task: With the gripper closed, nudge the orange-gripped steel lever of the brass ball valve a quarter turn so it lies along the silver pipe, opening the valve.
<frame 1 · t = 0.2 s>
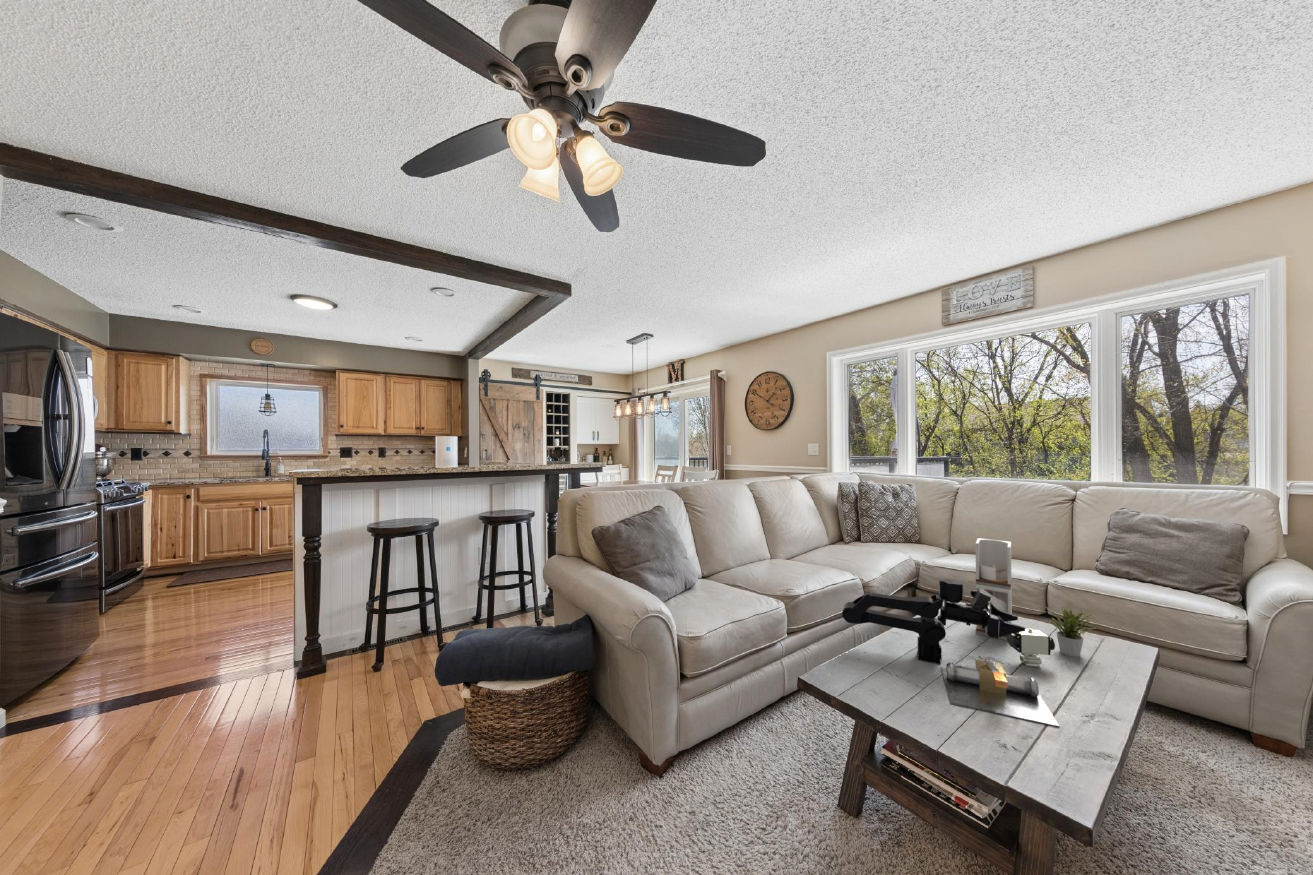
hand: (1021, 623, 143), 17 cm above the table, fingers open, 9 cm apart
pneumatic valve: (1029, 664, 150), on the table
ball valve body: (990, 687, 136), on the table
display case: (994, 632, 175), on the table
valve lever: (995, 670, 130), point 8 cm above the table, hinge at 0.0°
house plant: (1074, 655, 156), on the table
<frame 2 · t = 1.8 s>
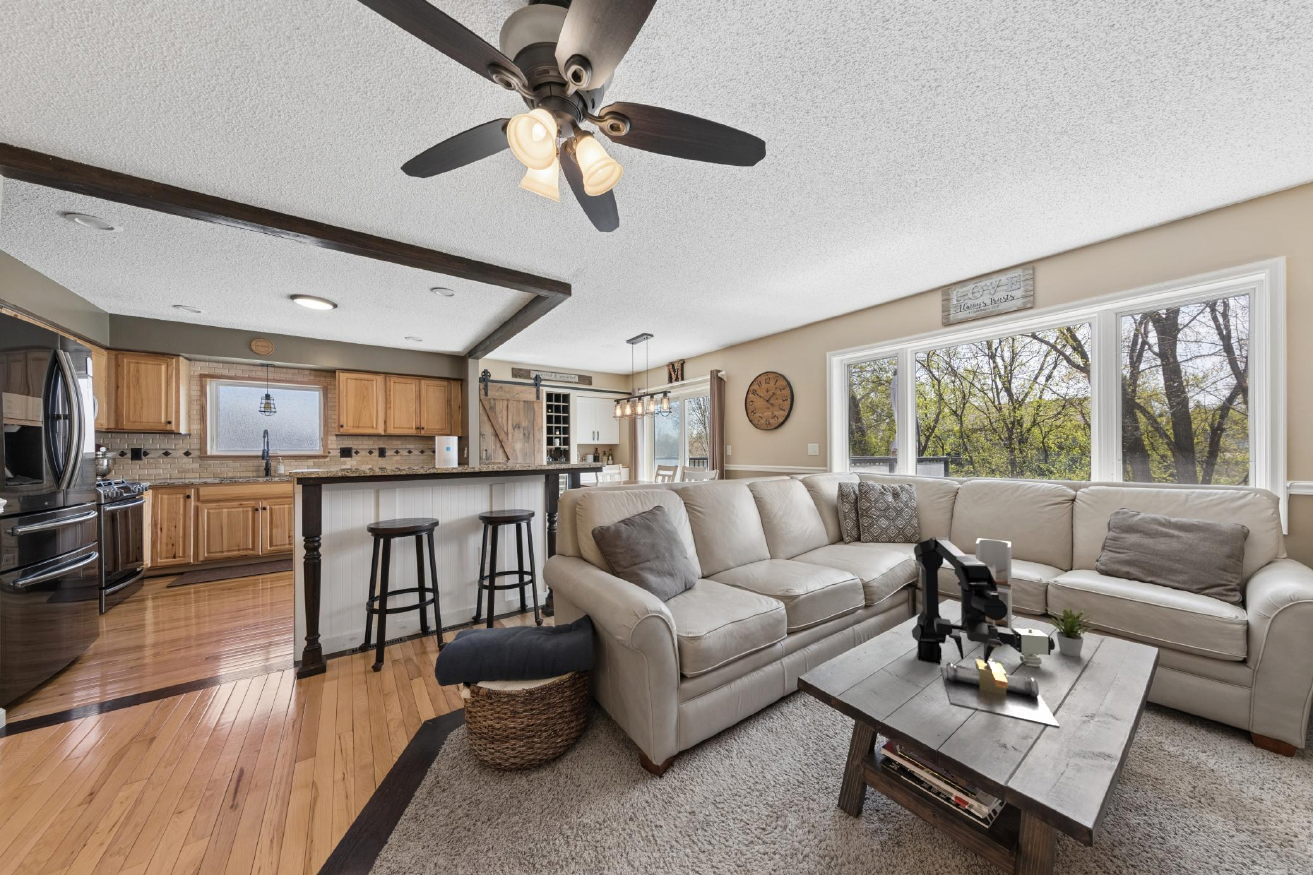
hand: (973, 660, 128), 12 cm above the table, fingers open, 5 cm apart
nothing on the table moved.
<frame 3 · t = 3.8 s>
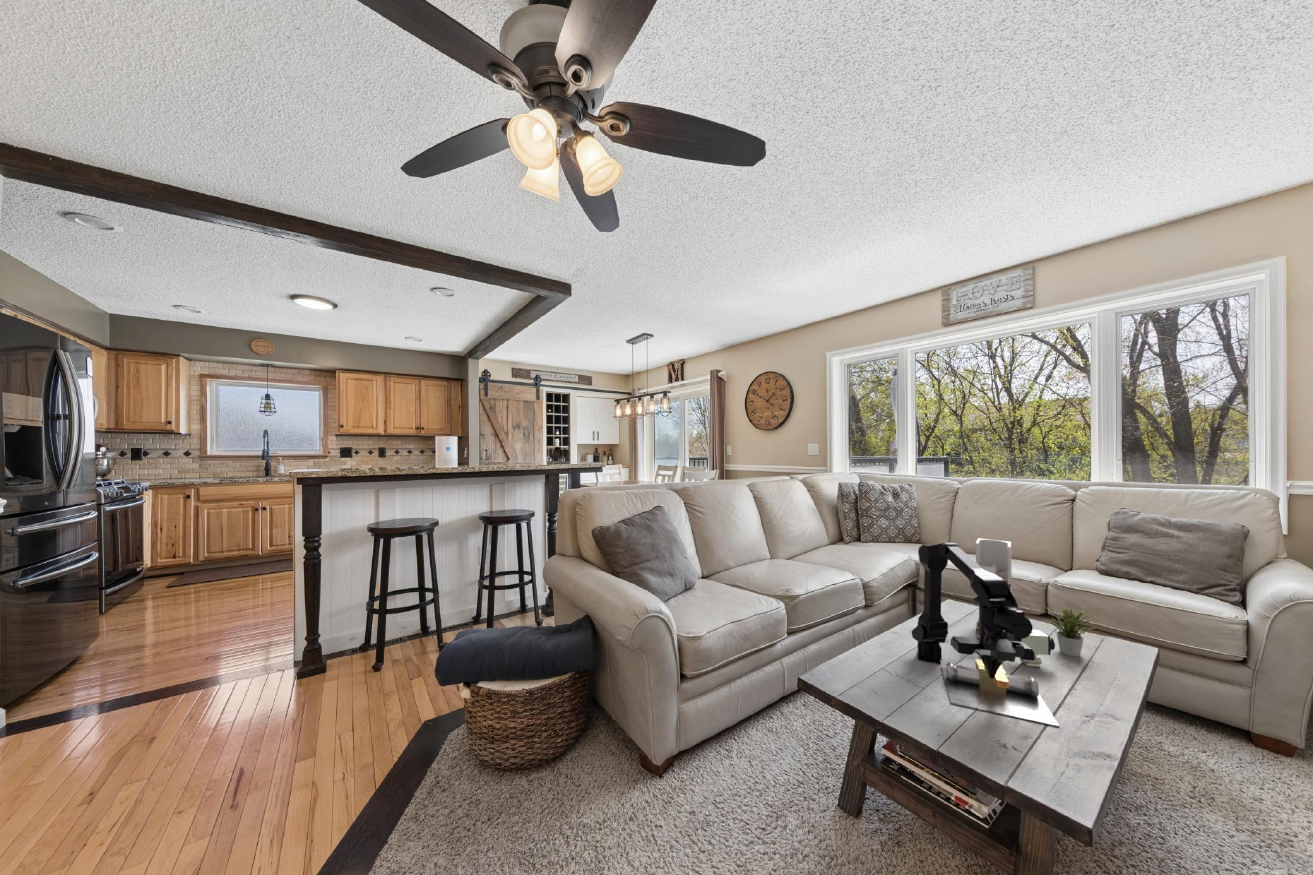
hand: (991, 678, 127), 8 cm above the table, fingers closed
valve lever: (995, 670, 130), point 8 cm above the table, hinge at 1.1°, touching gripper
everything else where it was.
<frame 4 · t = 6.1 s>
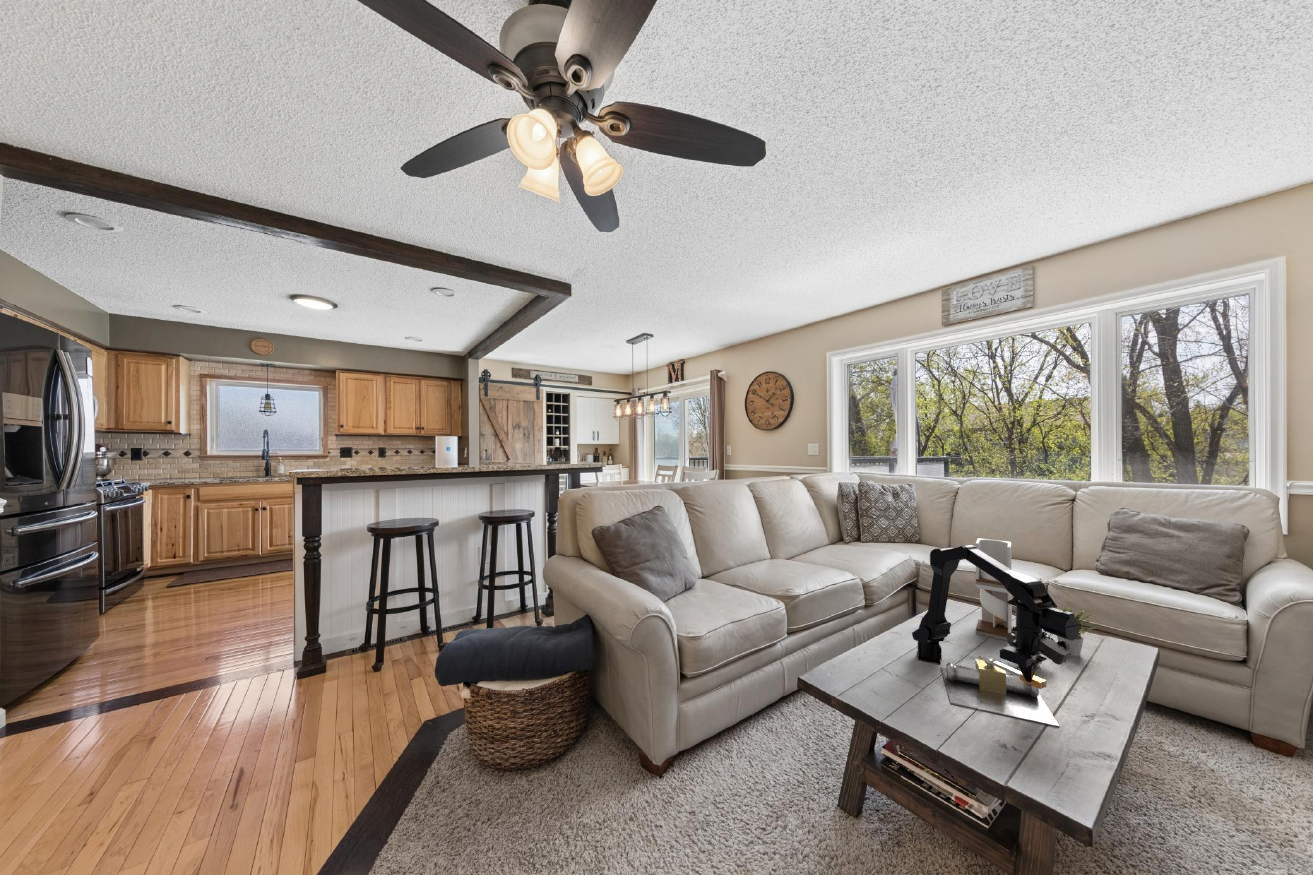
hand: (1028, 681, 125), 8 cm above the table, fingers closed
valve lever: (1012, 671, 130), point 8 cm above the table, hinge at 46.3°, touching gripper
everything else where it was.
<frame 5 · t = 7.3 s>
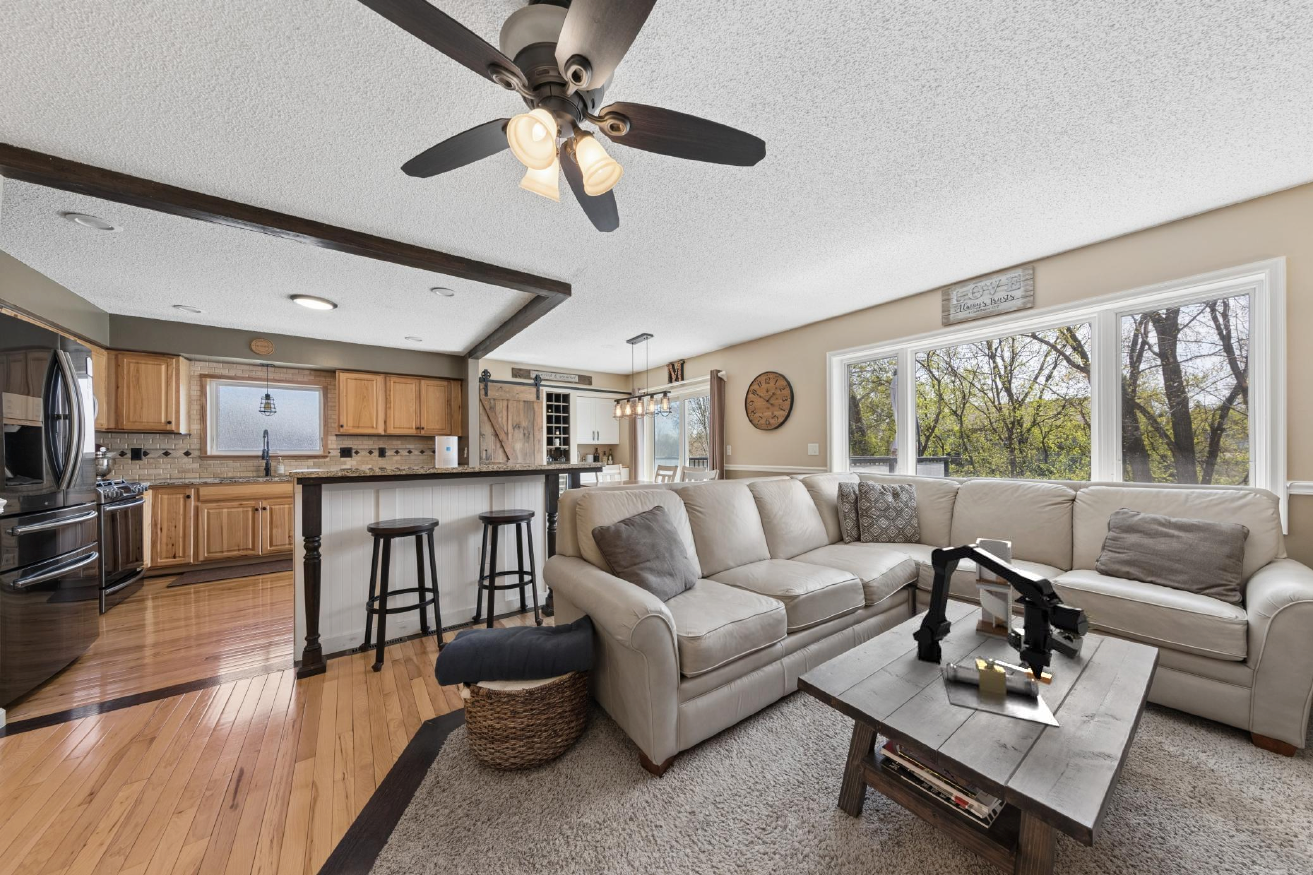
hand: (1037, 678, 126), 8 cm above the table, fingers closed
valve lever: (1016, 669, 131), point 8 cm above the table, hinge at 66.0°, touching gripper
everything else where it was.
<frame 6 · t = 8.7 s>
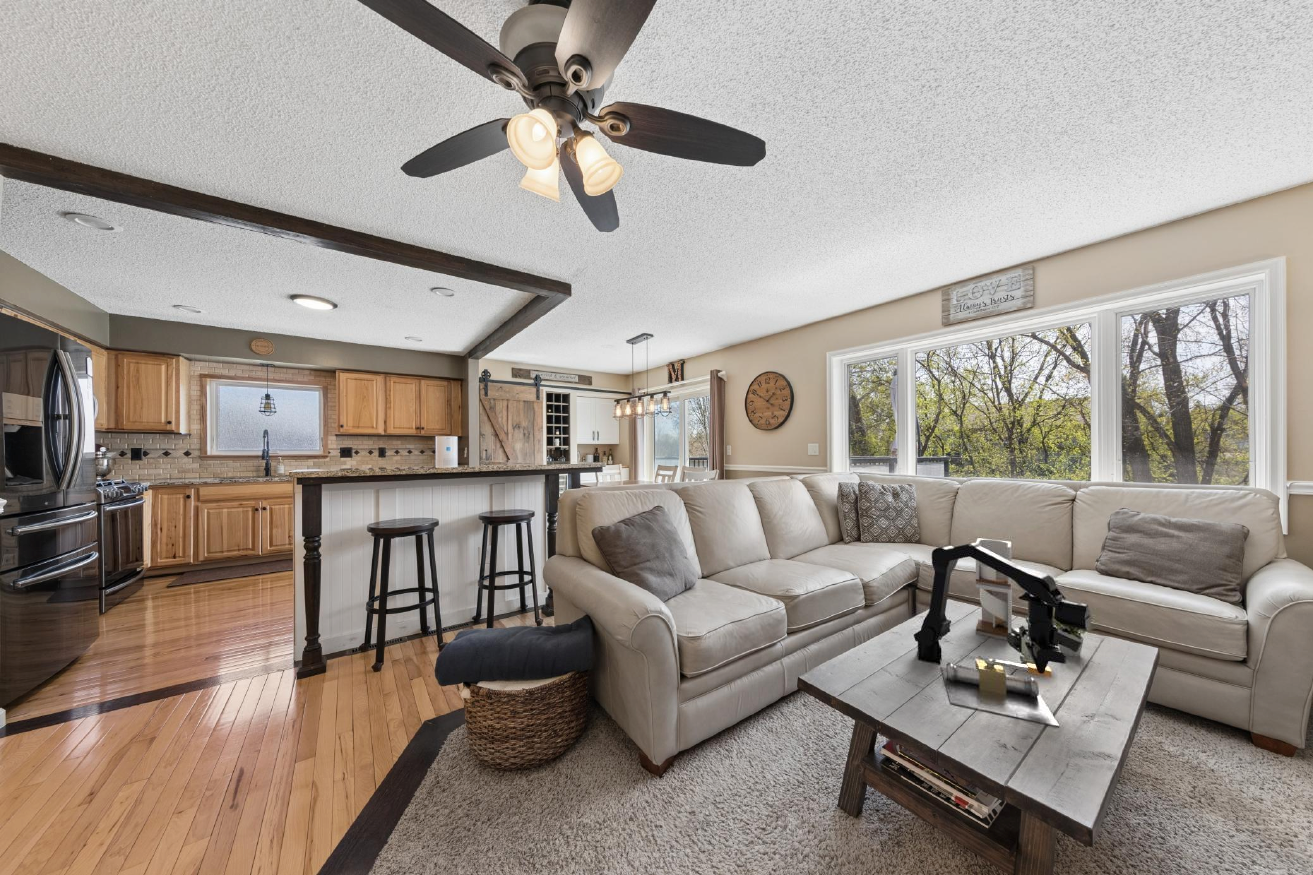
hand: (1040, 673, 129), 8 cm above the table, fingers closed
valve lever: (1016, 665, 133), point 8 cm above the table, hinge at 88.6°, touching gripper
everything else where it was.
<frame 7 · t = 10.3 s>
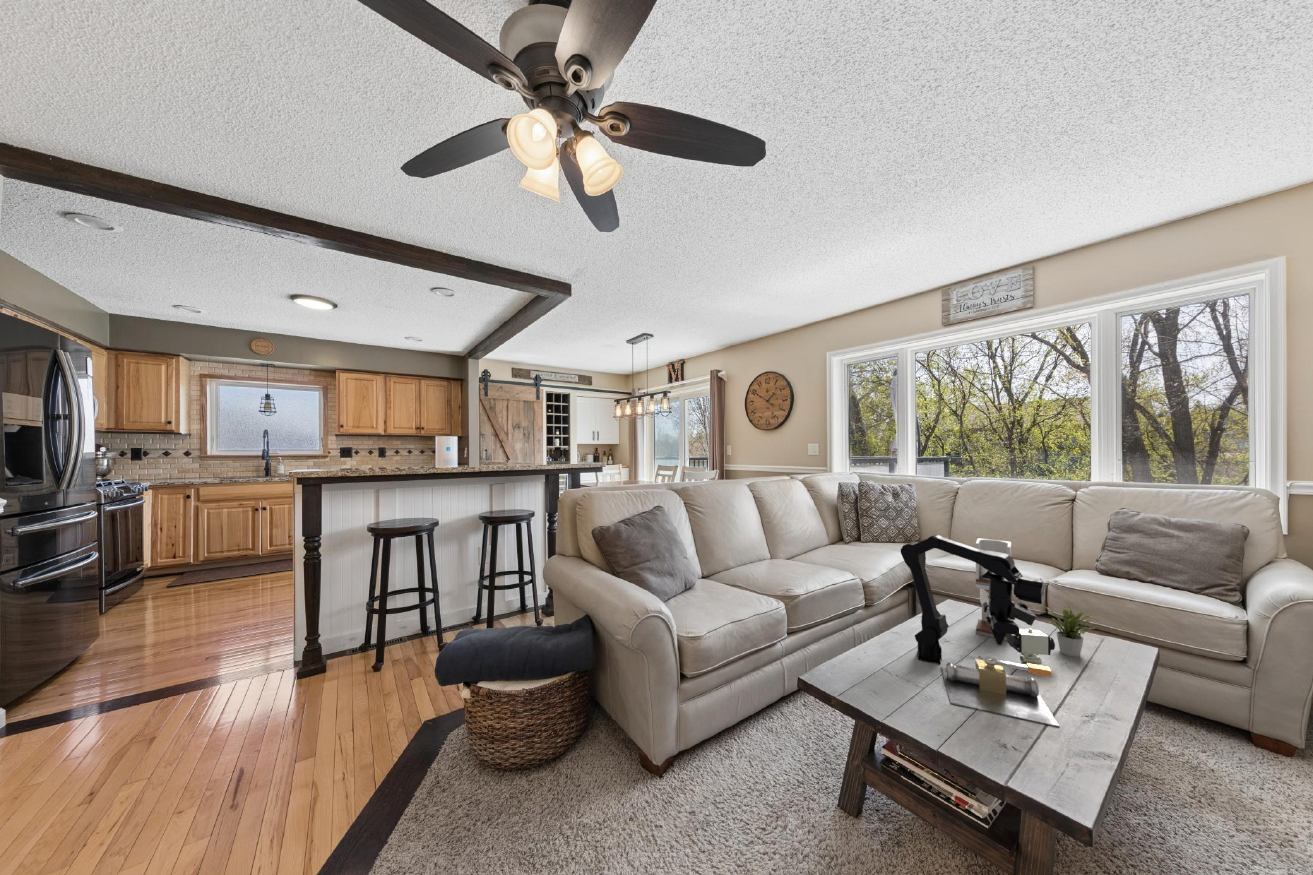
hand: (998, 644, 139), 11 cm above the table, fingers closed
valve lever: (1016, 665, 133), point 8 cm above the table, hinge at 88.7°
everything else where it was.
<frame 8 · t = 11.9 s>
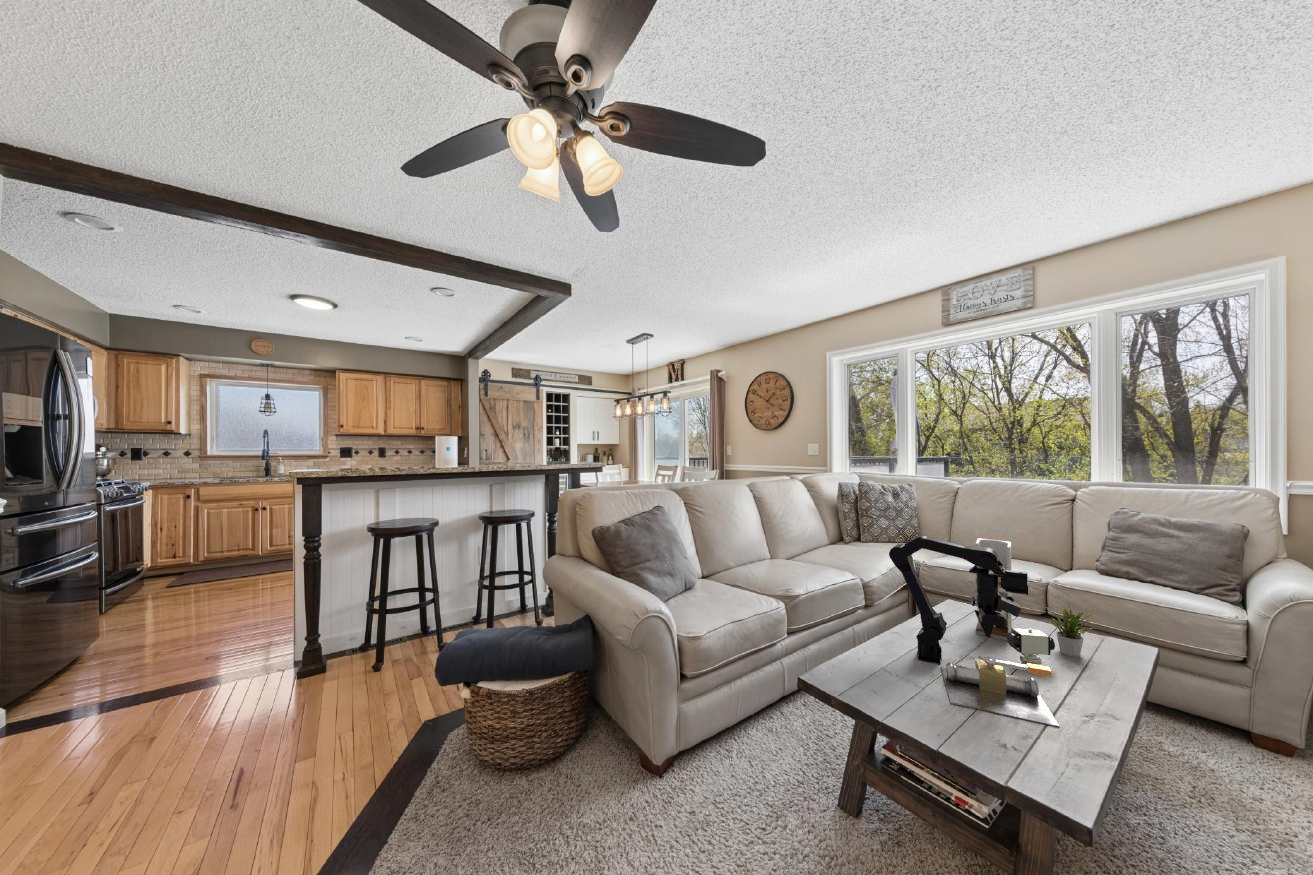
hand: (987, 637, 144), 12 cm above the table, fingers closed
nothing on the table moved.
at the end: valve lever at +89° (first picture: +0°) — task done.
